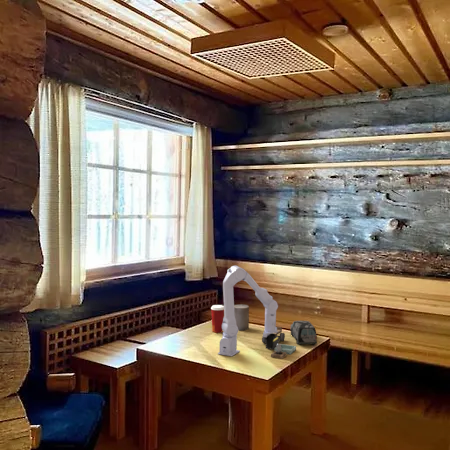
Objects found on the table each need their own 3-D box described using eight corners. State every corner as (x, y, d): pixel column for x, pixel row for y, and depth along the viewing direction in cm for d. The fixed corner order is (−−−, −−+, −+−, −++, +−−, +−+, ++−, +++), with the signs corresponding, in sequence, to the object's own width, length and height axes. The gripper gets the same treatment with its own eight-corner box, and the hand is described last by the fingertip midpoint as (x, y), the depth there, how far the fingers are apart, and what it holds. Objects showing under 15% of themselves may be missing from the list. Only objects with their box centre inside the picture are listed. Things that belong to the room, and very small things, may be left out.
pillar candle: (248, 326, 304) (248, 302, 303) (249, 330, 294) (249, 305, 293) (232, 326, 304) (232, 302, 303) (232, 330, 294) (232, 305, 294)
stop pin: (280, 357, 246) (280, 345, 246) (275, 356, 247) (275, 344, 247) (281, 355, 248) (282, 344, 248) (277, 355, 249) (277, 343, 249)
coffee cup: (227, 331, 293) (227, 305, 292) (219, 334, 286) (220, 308, 285) (214, 328, 297) (215, 304, 296) (207, 332, 290) (207, 306, 289)
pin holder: (282, 358, 243) (282, 355, 243) (270, 356, 246) (270, 353, 246) (286, 355, 249) (286, 352, 249) (275, 353, 252) (275, 350, 251)
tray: (290, 354, 250) (290, 350, 250) (274, 352, 254) (274, 348, 254) (295, 350, 258) (296, 346, 258) (280, 347, 262) (280, 343, 262)
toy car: (307, 334, 290) (307, 317, 289) (317, 346, 265) (318, 328, 264) (289, 334, 289) (289, 317, 288) (297, 346, 264) (298, 328, 264)
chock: (273, 349, 258) (273, 340, 258) (265, 348, 260) (265, 339, 260) (278, 346, 264) (278, 337, 264) (270, 344, 266) (270, 336, 266)
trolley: (276, 345, 265) (276, 332, 264) (261, 343, 269) (262, 330, 268) (284, 340, 276) (285, 327, 275) (270, 337, 280) (270, 325, 279)
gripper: (272, 325, 249) (271, 352, 250) (282, 319, 262) (281, 345, 263) (259, 324, 252) (258, 350, 253) (270, 318, 265) (269, 343, 266)
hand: (269, 347), depth 258 cm, fingers closed
